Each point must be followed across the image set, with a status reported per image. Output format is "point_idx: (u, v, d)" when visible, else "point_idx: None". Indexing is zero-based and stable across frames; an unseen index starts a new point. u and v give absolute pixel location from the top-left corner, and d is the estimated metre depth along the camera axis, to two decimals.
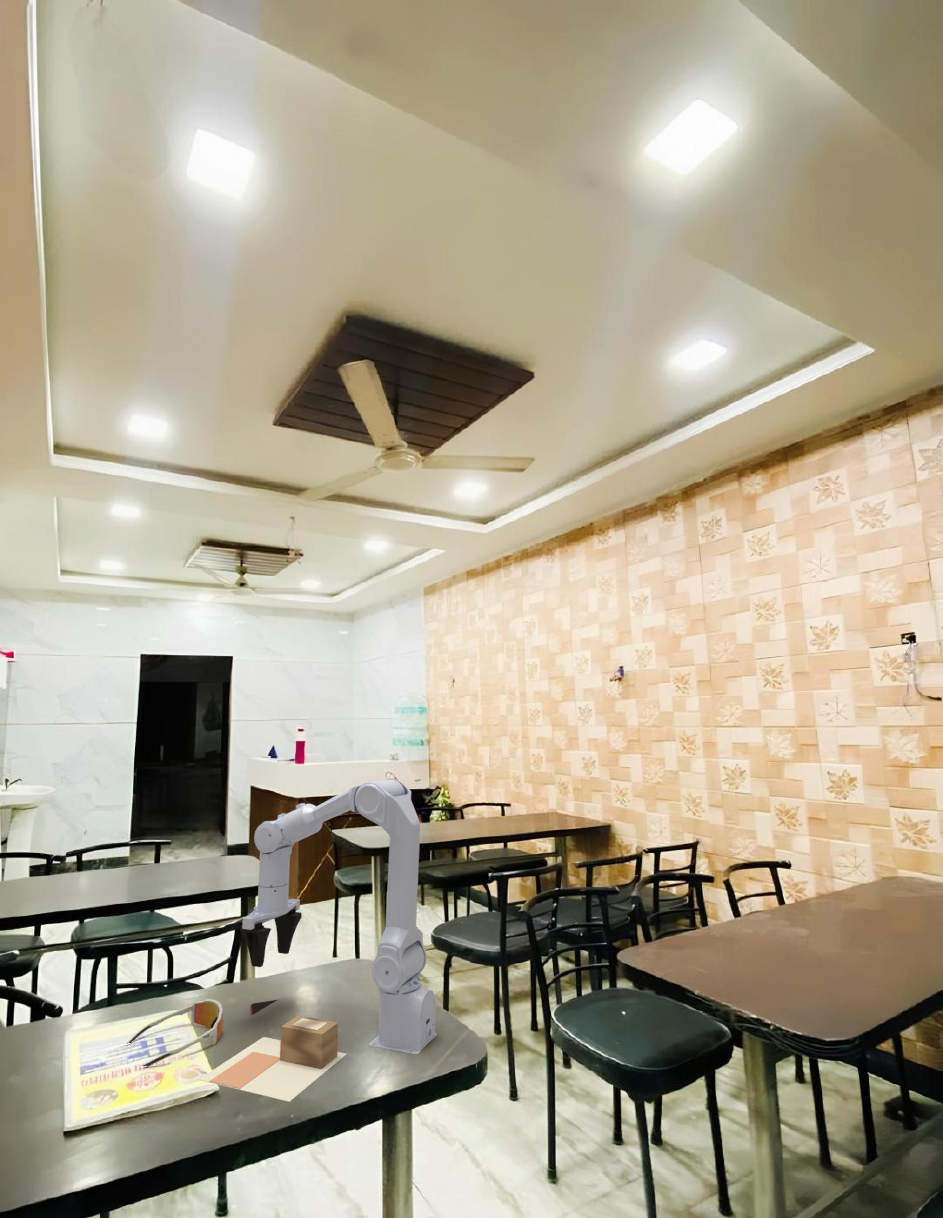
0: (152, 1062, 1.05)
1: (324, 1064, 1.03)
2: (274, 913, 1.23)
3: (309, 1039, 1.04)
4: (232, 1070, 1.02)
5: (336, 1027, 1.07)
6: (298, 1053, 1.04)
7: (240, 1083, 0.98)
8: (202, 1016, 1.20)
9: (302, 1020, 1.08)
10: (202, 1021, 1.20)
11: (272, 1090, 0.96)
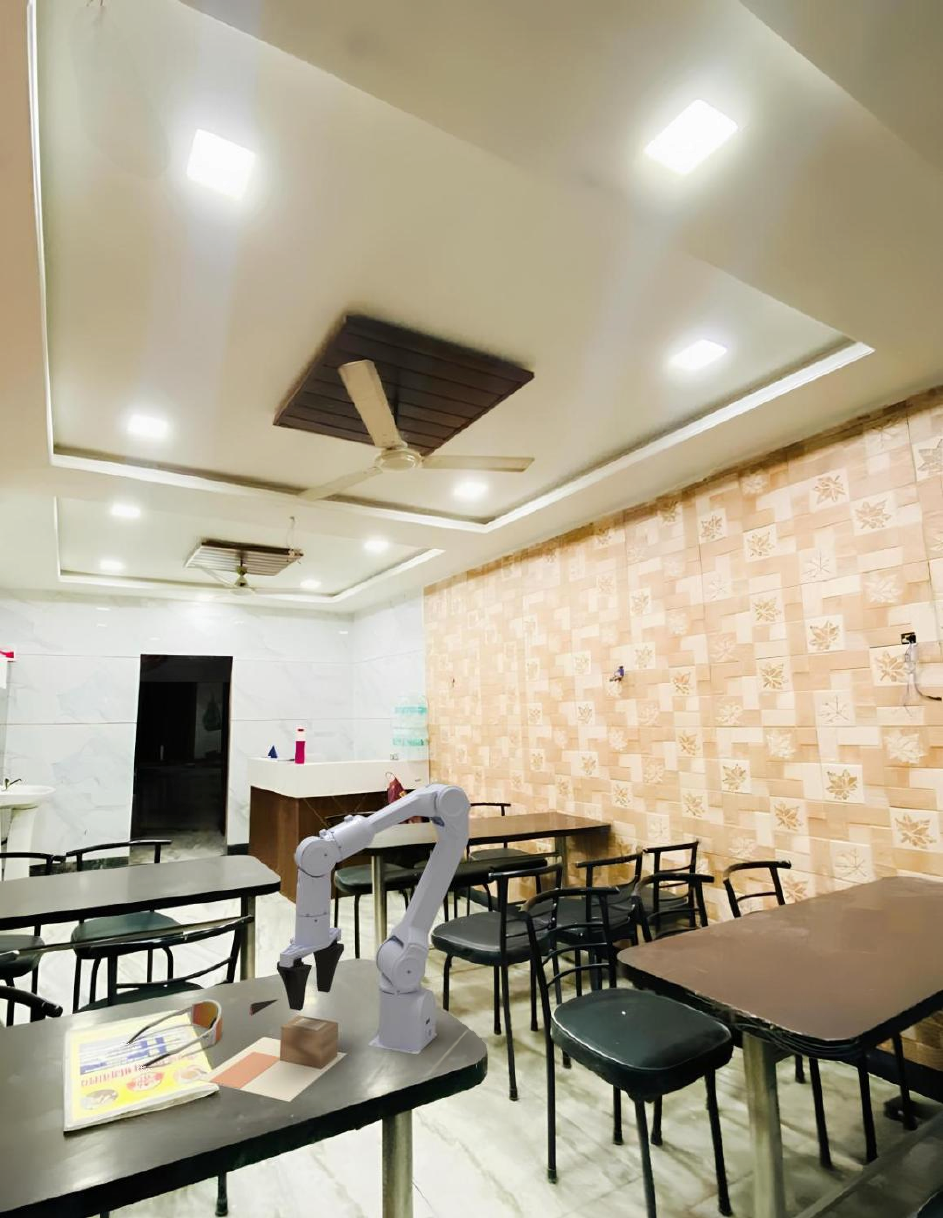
0: (151, 1063, 1.05)
1: (324, 1064, 1.03)
2: (315, 947, 1.06)
3: (309, 1039, 1.04)
4: (232, 1070, 1.02)
5: (336, 1027, 1.07)
6: (298, 1053, 1.04)
7: (240, 1083, 0.98)
8: (201, 1017, 1.20)
9: (302, 1020, 1.08)
10: (201, 1022, 1.20)
11: (272, 1090, 0.96)
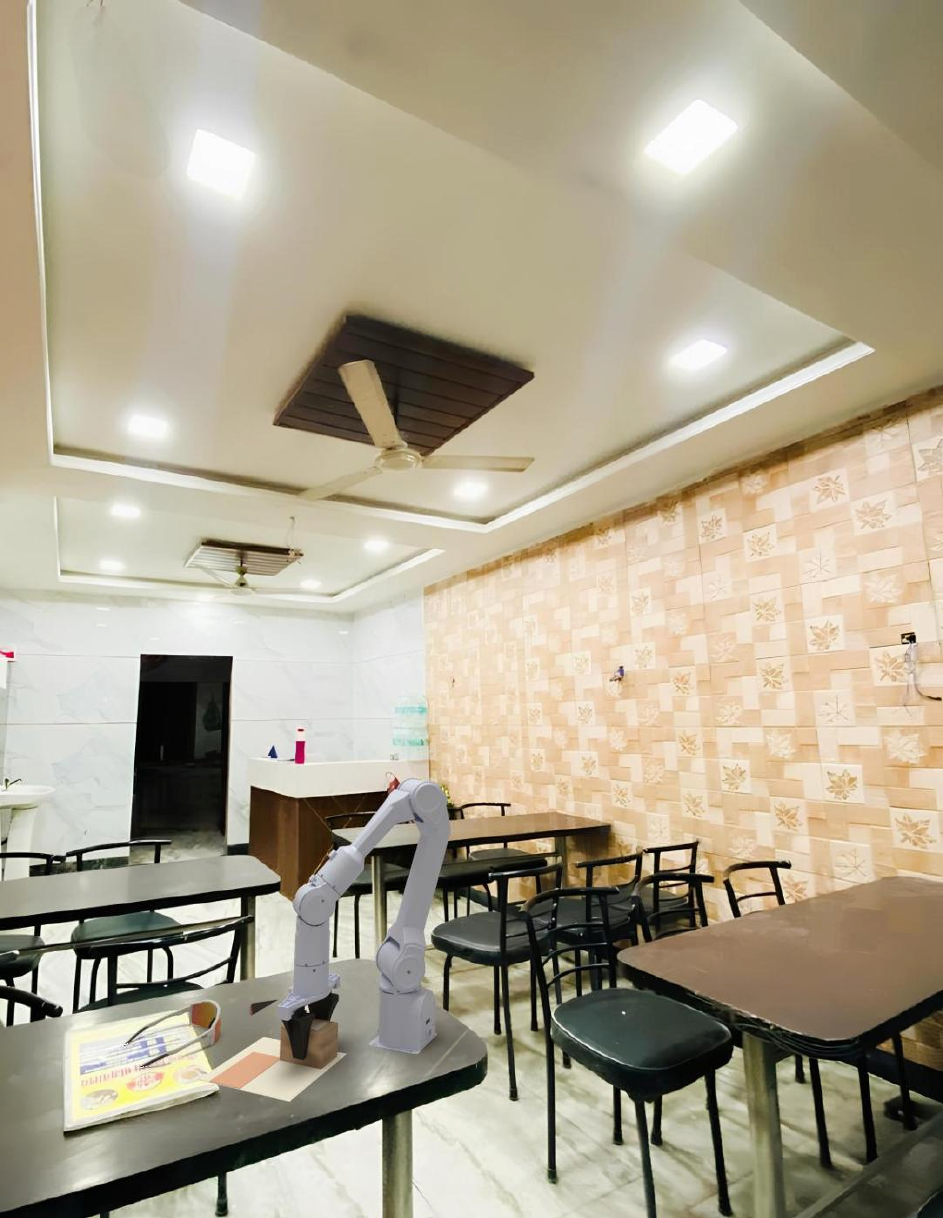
0: (150, 1063, 1.05)
1: (324, 1064, 1.03)
2: (313, 997, 1.05)
3: (309, 1039, 1.04)
4: (232, 1070, 1.02)
5: (336, 1027, 1.07)
6: None
7: (240, 1083, 0.98)
8: (200, 1017, 1.20)
9: None
10: (200, 1022, 1.20)
11: (272, 1090, 0.96)
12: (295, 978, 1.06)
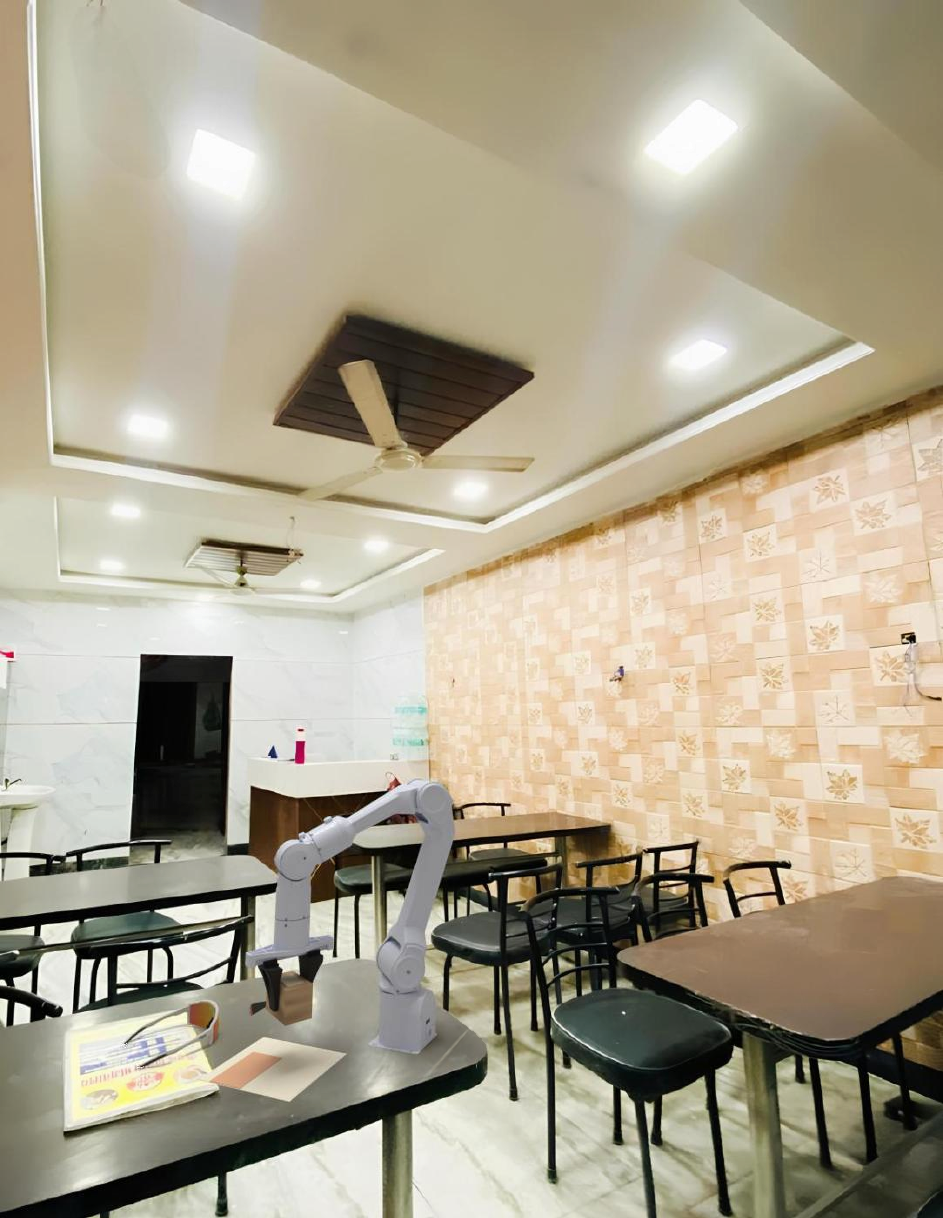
0: (148, 1063, 1.05)
1: (290, 1022, 1.02)
2: (282, 952, 1.05)
3: (280, 994, 1.04)
4: (232, 1070, 1.02)
5: (311, 988, 1.05)
6: None
7: (240, 1083, 0.98)
8: (198, 1017, 1.20)
9: (288, 975, 1.09)
10: (198, 1022, 1.20)
11: (272, 1090, 0.96)
12: (274, 930, 1.08)
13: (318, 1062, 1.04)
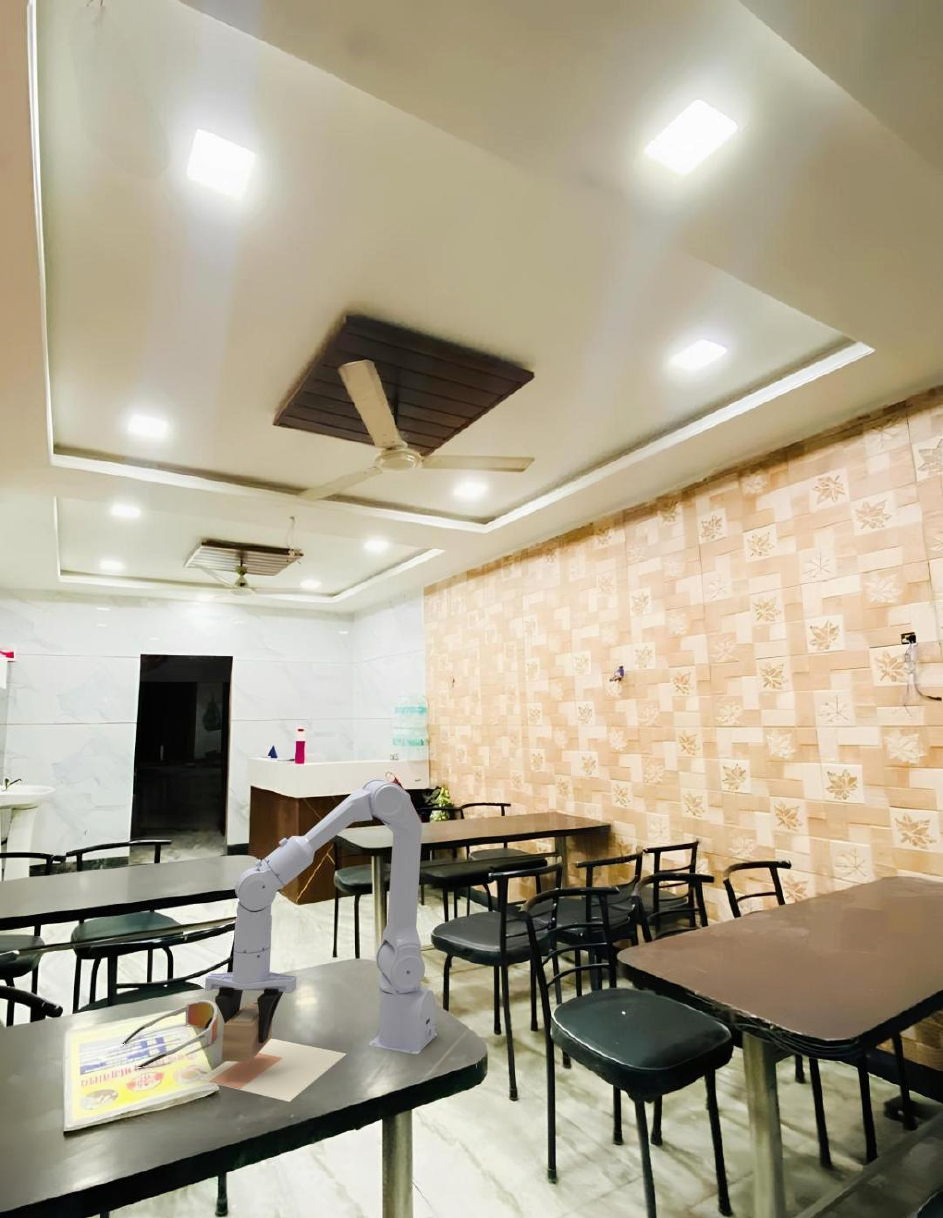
0: (147, 1063, 1.05)
1: (227, 1058, 0.99)
2: (230, 983, 1.03)
3: None
4: (232, 1070, 1.02)
5: (249, 1030, 1.00)
6: None
7: (240, 1083, 0.98)
8: (196, 1017, 1.20)
9: None
10: (197, 1022, 1.20)
11: (272, 1090, 0.96)
12: None
13: (318, 1062, 1.04)
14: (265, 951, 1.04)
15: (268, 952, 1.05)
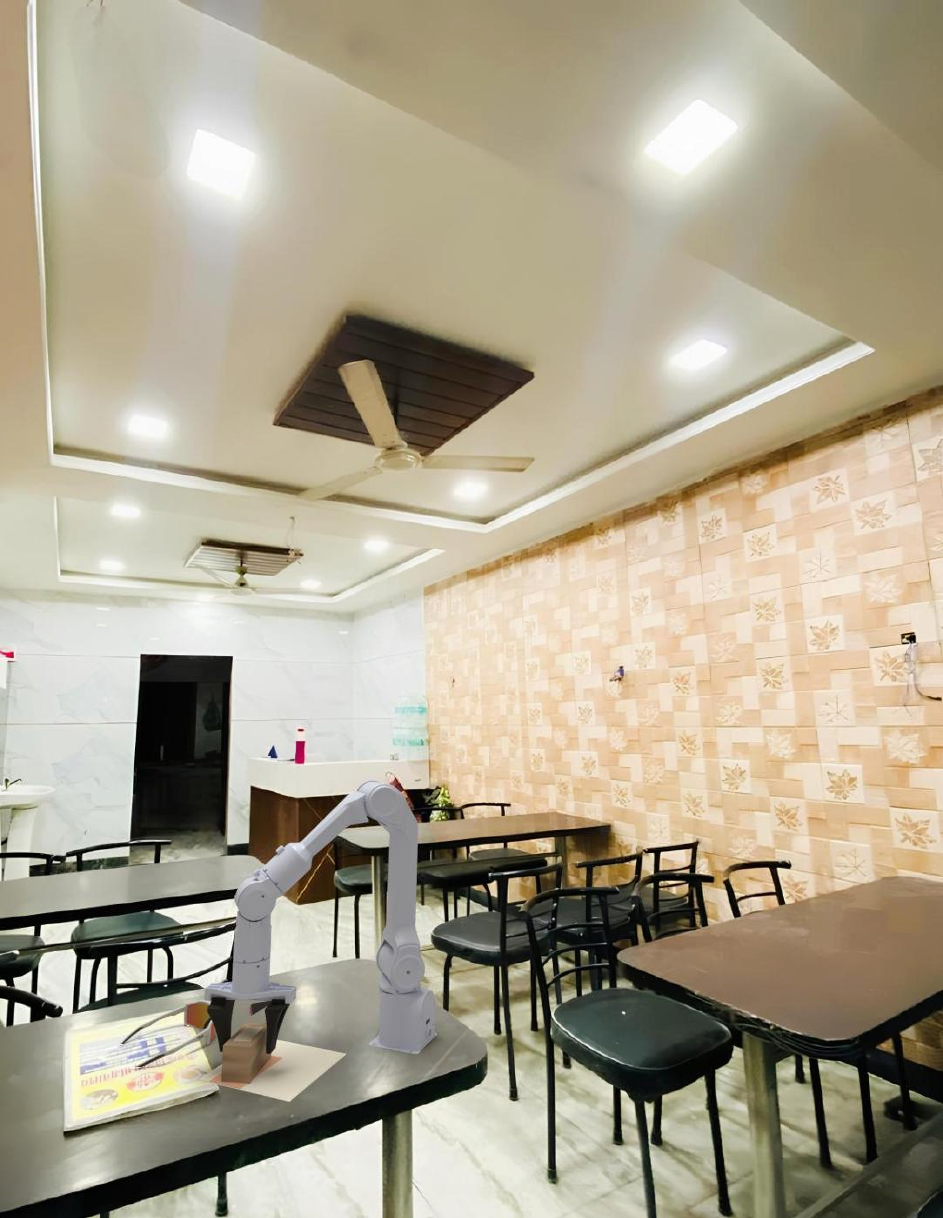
0: (146, 1063, 1.05)
1: (226, 1079, 0.99)
2: (229, 993, 1.03)
3: None
4: None
5: (248, 1051, 0.99)
6: None
7: (240, 1083, 0.98)
8: (195, 1017, 1.20)
9: (257, 1028, 1.05)
10: (195, 1022, 1.19)
11: (272, 1090, 0.96)
12: None
13: (318, 1062, 1.04)
14: (265, 961, 1.04)
15: (268, 962, 1.05)
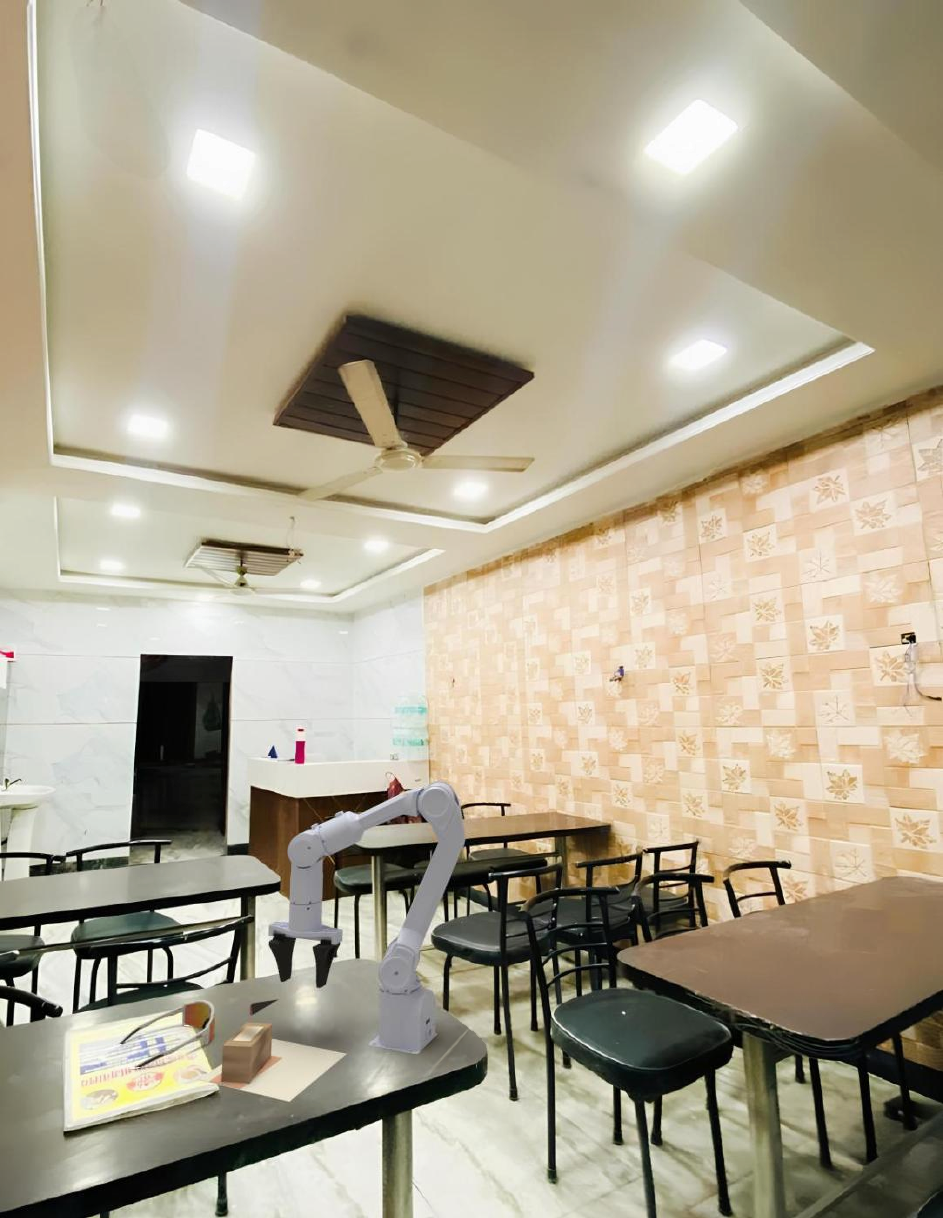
0: (144, 1063, 1.05)
1: (226, 1079, 0.99)
2: (285, 930, 1.15)
3: None
4: None
5: (248, 1051, 0.99)
6: None
7: (240, 1083, 0.98)
8: (193, 1017, 1.20)
9: (257, 1028, 1.05)
10: (193, 1022, 1.19)
11: (272, 1090, 0.96)
12: None
13: (318, 1062, 1.04)
14: (314, 904, 1.15)
15: (318, 906, 1.16)
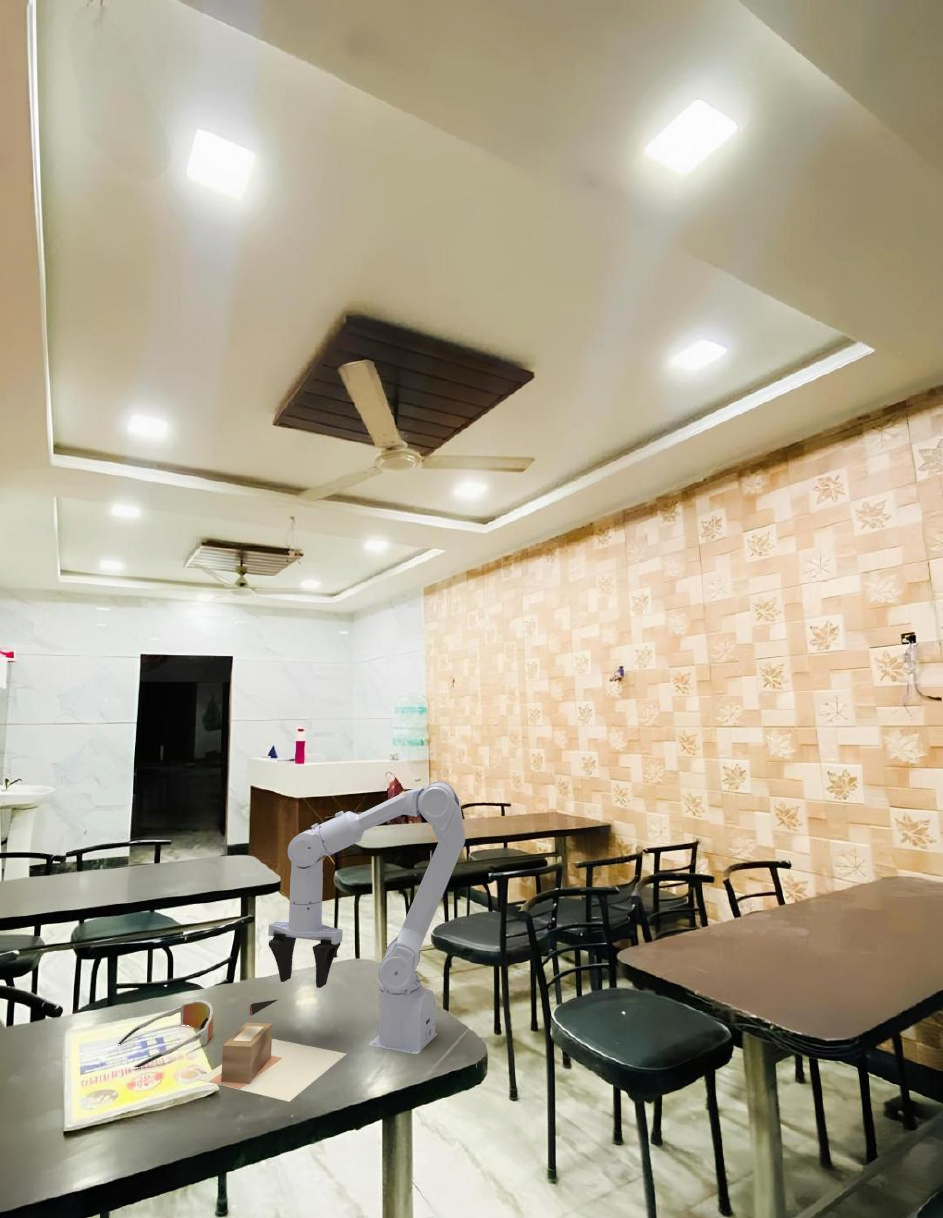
0: (143, 1063, 1.05)
1: (226, 1079, 0.99)
2: (285, 930, 1.15)
3: None
4: None
5: (248, 1051, 0.99)
6: None
7: (240, 1083, 0.98)
8: (191, 1017, 1.20)
9: (257, 1028, 1.05)
10: (192, 1022, 1.19)
11: (272, 1090, 0.96)
12: None
13: (318, 1062, 1.04)
14: (314, 904, 1.15)
15: (318, 906, 1.16)
